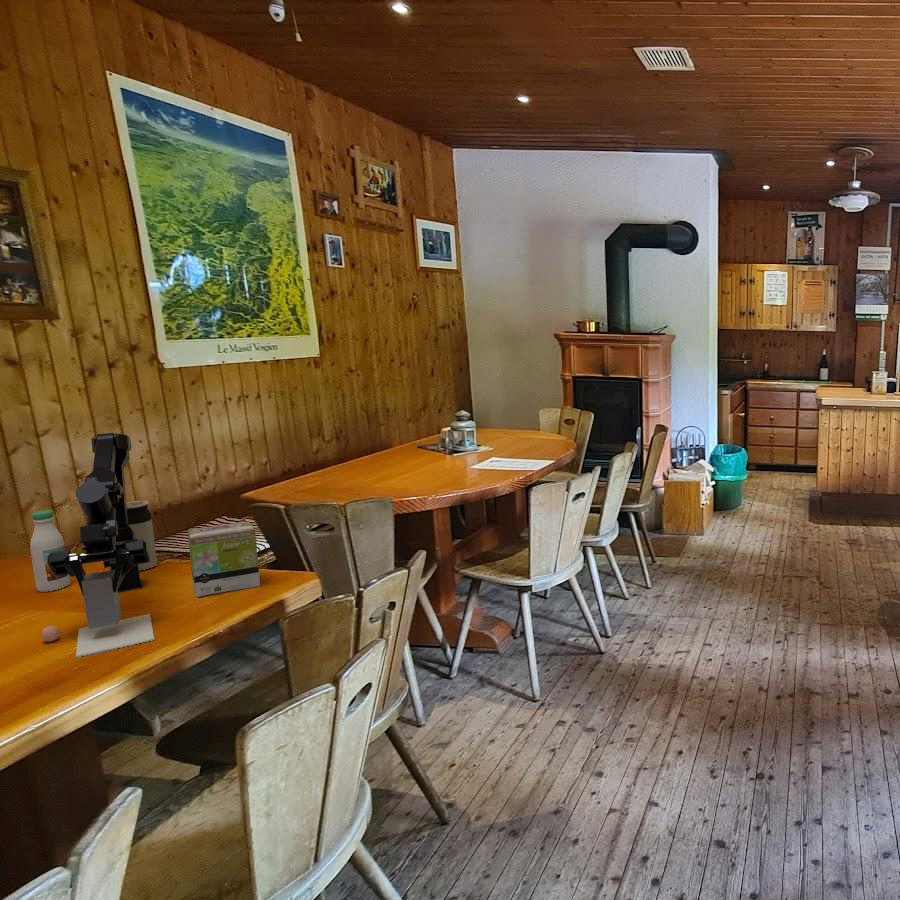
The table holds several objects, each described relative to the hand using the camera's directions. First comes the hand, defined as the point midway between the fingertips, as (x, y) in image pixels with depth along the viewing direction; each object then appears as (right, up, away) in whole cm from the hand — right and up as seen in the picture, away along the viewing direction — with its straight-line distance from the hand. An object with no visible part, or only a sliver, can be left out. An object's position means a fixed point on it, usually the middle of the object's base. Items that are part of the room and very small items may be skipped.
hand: (99, 593), depth 143 cm
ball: (-11, -10, +2) cm, 15 cm away
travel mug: (-13, -3, +50) cm, 52 cm away
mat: (+2, -9, +2) cm, 10 cm away
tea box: (+17, -4, +29) cm, 34 cm away
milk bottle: (-30, -6, +37) cm, 49 cm away
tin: (0, -6, +2) cm, 7 cm away
